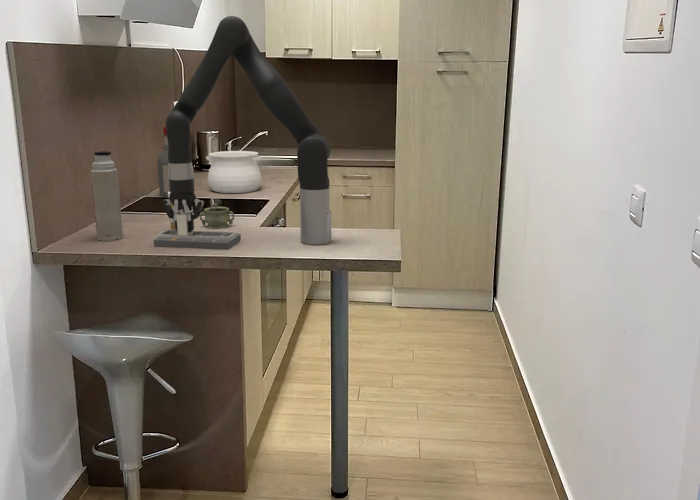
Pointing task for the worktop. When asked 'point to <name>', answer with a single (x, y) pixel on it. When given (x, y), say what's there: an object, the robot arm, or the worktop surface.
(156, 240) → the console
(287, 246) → the worktop surface
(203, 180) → the worktop surface
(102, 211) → the thermos bottle
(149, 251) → the worktop surface
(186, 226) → the block
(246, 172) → the pot
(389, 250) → the worktop surface
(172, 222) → the sprinkles bottle
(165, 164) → the liquor
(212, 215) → the vessel
